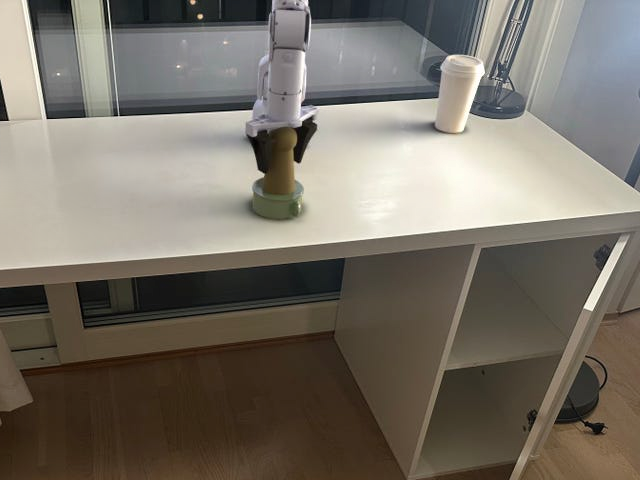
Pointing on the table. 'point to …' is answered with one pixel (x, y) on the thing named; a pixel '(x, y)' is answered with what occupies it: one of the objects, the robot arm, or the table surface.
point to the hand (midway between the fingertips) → (279, 166)
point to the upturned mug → (277, 202)
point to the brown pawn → (281, 162)
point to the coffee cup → (457, 91)
